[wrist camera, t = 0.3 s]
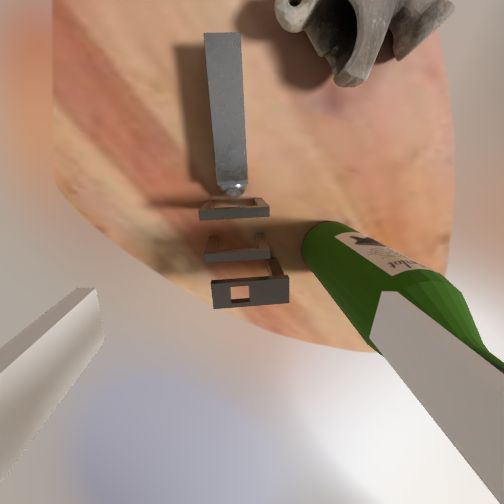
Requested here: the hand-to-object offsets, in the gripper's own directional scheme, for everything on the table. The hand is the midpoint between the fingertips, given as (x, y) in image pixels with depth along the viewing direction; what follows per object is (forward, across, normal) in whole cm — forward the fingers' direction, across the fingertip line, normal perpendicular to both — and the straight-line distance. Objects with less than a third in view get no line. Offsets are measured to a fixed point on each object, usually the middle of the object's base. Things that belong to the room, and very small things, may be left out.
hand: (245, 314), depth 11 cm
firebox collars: (+27, +1, -4) cm, 27 cm away
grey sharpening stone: (+27, -2, +12) cm, 30 cm away
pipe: (+27, +14, +23) cm, 38 cm away
